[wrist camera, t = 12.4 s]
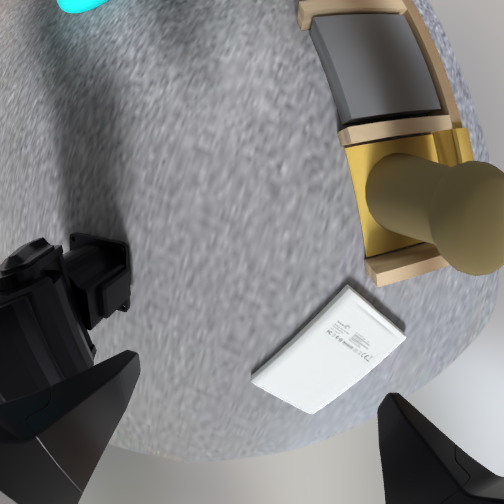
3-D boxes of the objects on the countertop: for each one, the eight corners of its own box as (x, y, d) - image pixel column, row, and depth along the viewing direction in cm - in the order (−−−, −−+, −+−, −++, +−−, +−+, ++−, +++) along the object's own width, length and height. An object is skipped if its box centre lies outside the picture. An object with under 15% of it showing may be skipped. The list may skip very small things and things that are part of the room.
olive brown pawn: (384, 246, 19) (463, 321, 9) (350, 174, 18) (429, 190, 8) (443, 210, 18) (541, 253, 8) (414, 140, 17) (518, 133, 6)
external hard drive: (251, 371, 25) (345, 280, 21) (312, 404, 26) (402, 329, 22) (249, 382, 24) (350, 289, 20) (313, 415, 24) (408, 339, 21)
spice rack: (365, 271, 20) (379, 290, 17) (296, 20, 15) (299, -3, 12) (457, 244, 19) (480, 257, 15) (399, 15, 13) (415, -3, 10)
